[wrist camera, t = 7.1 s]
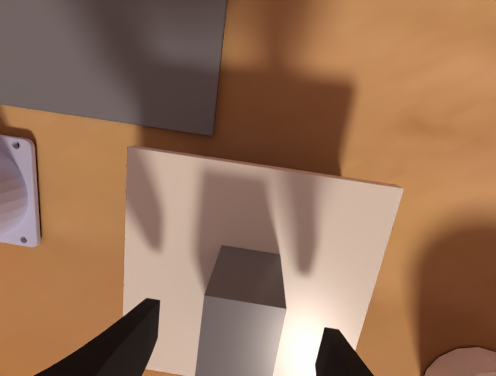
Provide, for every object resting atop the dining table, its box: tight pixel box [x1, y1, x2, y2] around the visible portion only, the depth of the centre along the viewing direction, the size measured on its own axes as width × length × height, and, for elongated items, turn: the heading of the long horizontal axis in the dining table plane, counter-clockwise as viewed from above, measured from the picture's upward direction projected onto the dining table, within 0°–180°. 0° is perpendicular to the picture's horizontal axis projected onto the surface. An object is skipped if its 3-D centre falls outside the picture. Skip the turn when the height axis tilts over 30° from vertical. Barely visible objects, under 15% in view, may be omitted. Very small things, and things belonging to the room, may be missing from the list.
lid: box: [123, 145, 404, 376], centre depth 12 cm, size 13×13×5 cm
